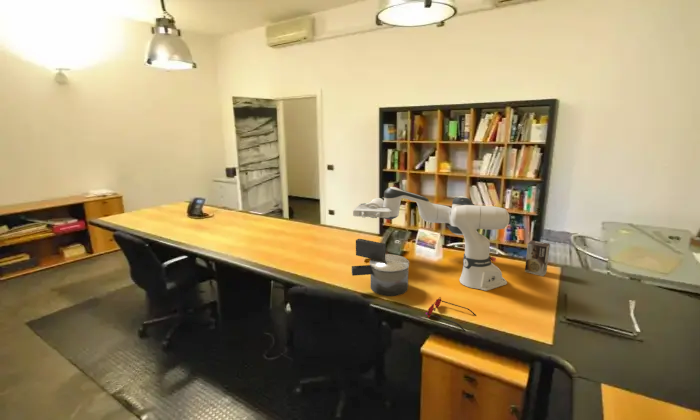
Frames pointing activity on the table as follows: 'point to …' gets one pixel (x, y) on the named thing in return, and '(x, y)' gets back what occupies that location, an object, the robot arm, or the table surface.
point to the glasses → (438, 306)
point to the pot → (384, 280)
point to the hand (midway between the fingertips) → (369, 216)
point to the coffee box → (537, 257)
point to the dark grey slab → (380, 256)
